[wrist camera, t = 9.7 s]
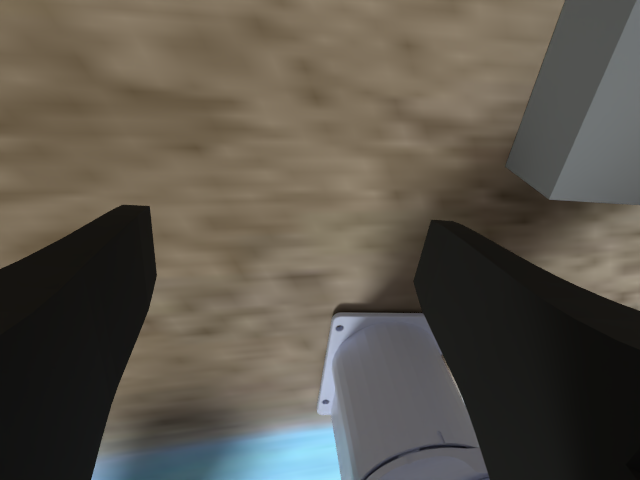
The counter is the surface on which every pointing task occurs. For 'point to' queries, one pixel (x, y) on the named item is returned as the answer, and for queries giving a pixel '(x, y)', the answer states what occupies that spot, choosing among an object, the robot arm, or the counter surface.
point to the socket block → (585, 108)
